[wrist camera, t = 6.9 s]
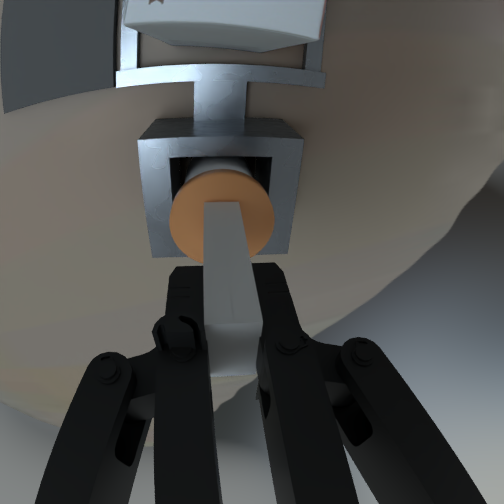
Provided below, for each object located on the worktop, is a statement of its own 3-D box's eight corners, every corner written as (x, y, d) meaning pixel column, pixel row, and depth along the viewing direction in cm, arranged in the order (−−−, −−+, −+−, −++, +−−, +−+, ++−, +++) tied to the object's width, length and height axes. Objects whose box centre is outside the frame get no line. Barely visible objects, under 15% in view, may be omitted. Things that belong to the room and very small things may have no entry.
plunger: (259, 139, 17) (279, 176, 12) (254, 209, 20) (269, 264, 15) (178, 140, 16) (165, 177, 12) (181, 210, 19) (174, 267, 14)
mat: (127, -71, 7) (125, -74, 7) (116, 86, 15) (113, 87, 14) (13, -30, 6) (9, -32, 6) (8, 111, 13) (4, 113, 13)
